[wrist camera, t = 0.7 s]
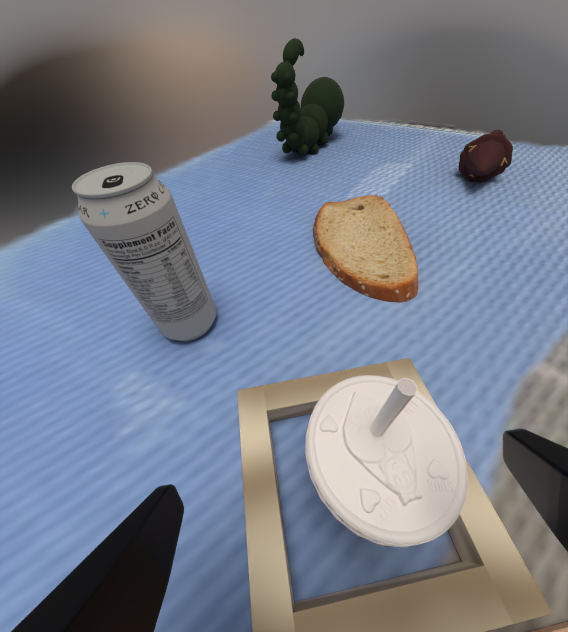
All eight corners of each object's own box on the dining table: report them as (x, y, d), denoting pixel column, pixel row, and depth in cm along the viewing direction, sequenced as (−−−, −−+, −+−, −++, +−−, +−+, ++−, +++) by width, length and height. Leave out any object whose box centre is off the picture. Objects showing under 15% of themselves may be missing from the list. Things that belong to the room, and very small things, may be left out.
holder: (518, 602, 14) (552, 613, 12) (263, 669, 13) (256, 693, 11) (400, 372, 23) (409, 357, 21) (243, 402, 22) (237, 390, 20)
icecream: (528, 156, 35) (524, 133, 44) (476, 134, 36) (482, 116, 45) (486, 204, 41) (490, 175, 49) (442, 183, 42) (453, 159, 51)
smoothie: (368, 420, 21) (438, 297, 10) (419, 517, 17) (632, 489, 6) (291, 449, 20) (277, 347, 9) (327, 560, 16) (380, 620, 5)
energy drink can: (214, 296, 30) (160, 153, 19) (222, 335, 27) (161, 187, 15) (161, 310, 30) (71, 168, 18) (162, 353, 26) (49, 208, 14)
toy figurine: (307, 176, 54) (352, 127, 65) (304, 47, 38) (363, 12, 50) (269, 169, 57) (317, 124, 69) (251, 48, 42) (318, 15, 53)
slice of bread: (404, 315, 28) (416, 290, 25) (273, 257, 35) (270, 233, 32) (454, 233, 36) (467, 208, 33) (339, 201, 44) (342, 178, 41)
